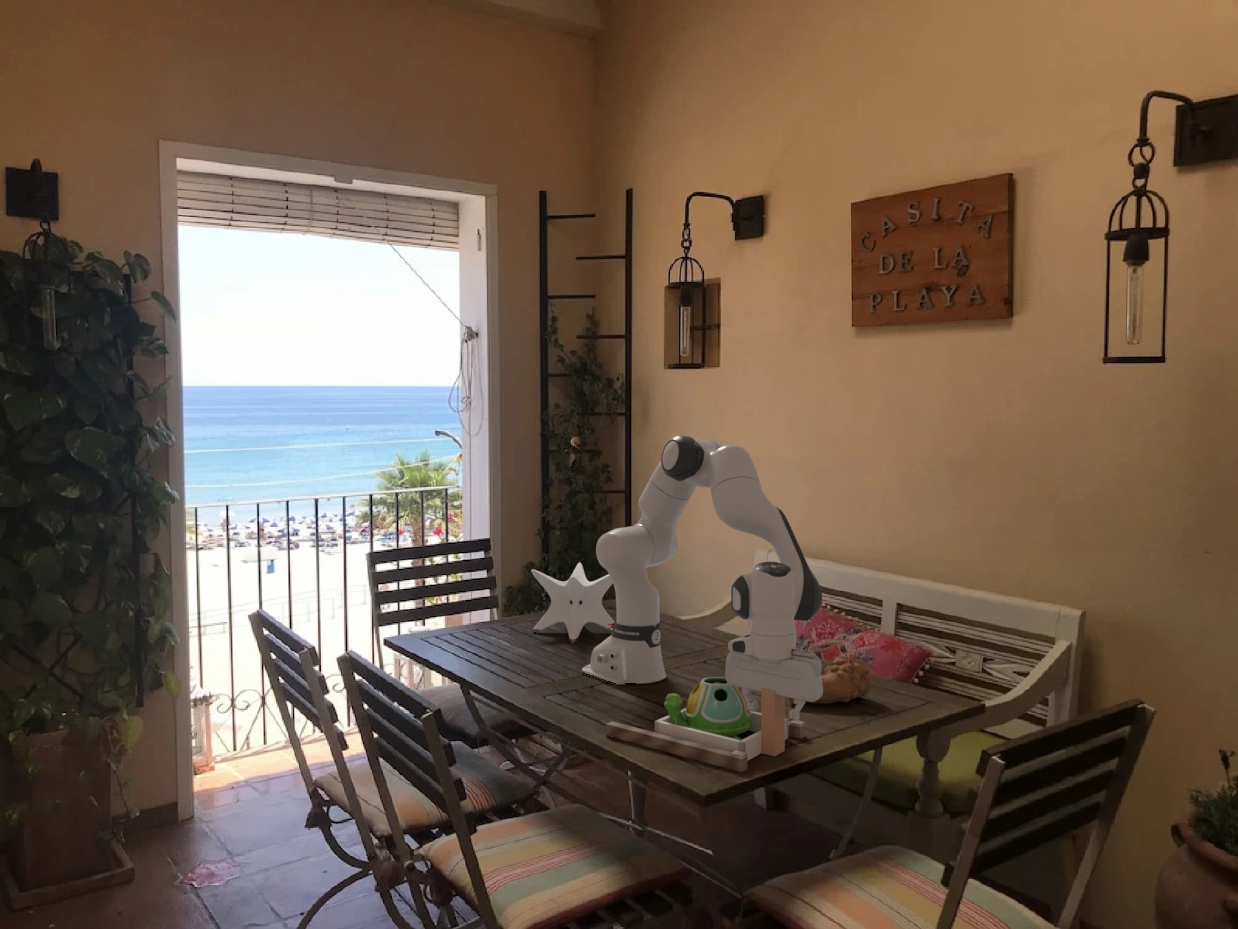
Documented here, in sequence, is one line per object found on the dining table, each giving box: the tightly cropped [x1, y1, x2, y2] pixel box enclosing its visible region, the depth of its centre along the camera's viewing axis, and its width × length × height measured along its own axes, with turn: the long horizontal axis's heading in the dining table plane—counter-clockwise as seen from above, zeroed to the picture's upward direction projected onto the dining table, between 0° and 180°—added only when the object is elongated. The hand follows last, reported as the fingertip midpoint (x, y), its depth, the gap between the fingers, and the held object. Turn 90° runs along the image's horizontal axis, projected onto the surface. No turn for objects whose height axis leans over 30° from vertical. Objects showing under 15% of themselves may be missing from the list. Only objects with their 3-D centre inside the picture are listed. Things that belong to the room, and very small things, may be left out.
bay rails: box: [605, 696, 806, 773], centre depth 195 cm, size 33×25×3 cm
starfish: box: [530, 562, 615, 640], centre depth 289 cm, size 20×20×20 cm
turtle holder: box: [663, 676, 751, 740], centre depth 194 cm, size 12×18×12 cm
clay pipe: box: [787, 652, 874, 705], centre depth 219 cm, size 19×11×15 cm
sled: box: [654, 688, 789, 762], centre depth 191 cm, size 24×18×13 cm
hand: (772, 715), depth 184 cm, fingers open, 8 cm apart
